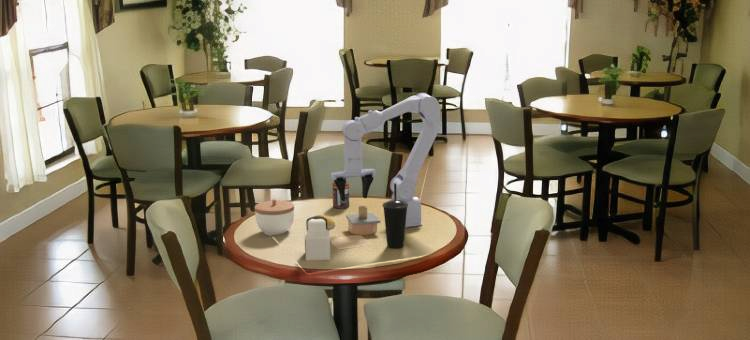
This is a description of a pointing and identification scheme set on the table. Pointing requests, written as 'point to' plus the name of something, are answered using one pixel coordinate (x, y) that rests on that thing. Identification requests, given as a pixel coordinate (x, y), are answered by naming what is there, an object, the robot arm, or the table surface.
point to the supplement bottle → (336, 196)
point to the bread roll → (329, 222)
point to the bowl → (362, 228)
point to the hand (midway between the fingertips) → (353, 198)
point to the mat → (349, 242)
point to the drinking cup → (395, 221)
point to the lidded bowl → (274, 216)
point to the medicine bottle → (317, 239)
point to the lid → (362, 217)
